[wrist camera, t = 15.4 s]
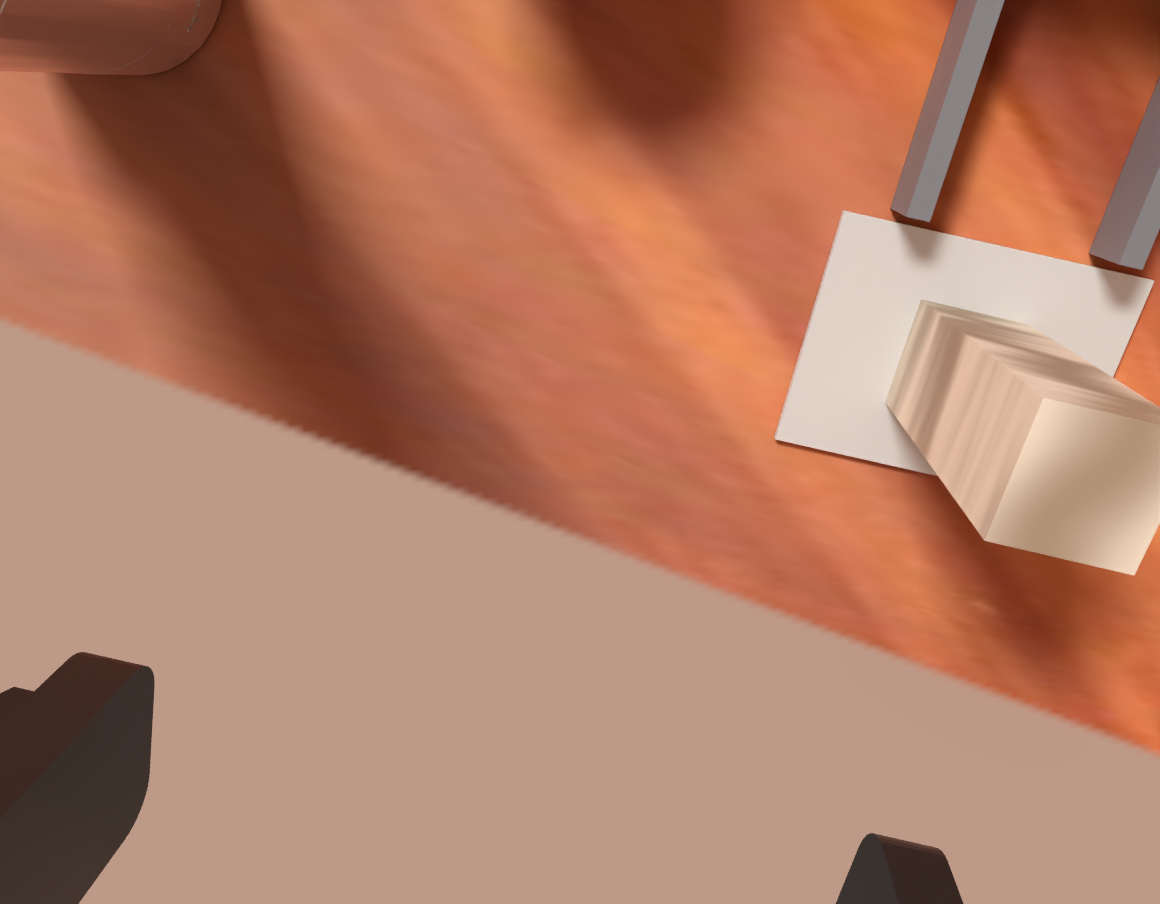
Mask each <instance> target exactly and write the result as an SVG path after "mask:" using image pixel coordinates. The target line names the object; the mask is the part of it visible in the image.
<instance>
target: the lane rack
mask: <svg viewBox="0 0 1160 904" xmlns="http://www.w3.org/2000/svg"><path fill="white" fill-rule="evenodd" d="M1003 3H1004V0H957V2H956V5H955V8H954V11H953V14H952V18H951V21H950V24H949V27H948V30H947V33H946V36H945V39H944V43H943V46H942V49H941V52H940V55H939V58H938V61H937V64H936V68H935V71H934V74H933V77H932V80H931V83H930V86H929V89H928V93H927V96H926V99H925V102H924V105H923V108H922V111H921V114H920V118H919V121H918V124H917V127H916V130H915V133H914V136H913V139H912V143H911V146H910V149H909V152H908V155H907V158H906V161H905V164H904V167H903V171H902V174H901V177H900V180H899V183H898V186H897V189H896V192H895V196H894V199H893V202H892V205H891V208H890V209H892V210H894V211H896V212H898V213H900V214H902V215H904V216H906V217H909V218H914V219H918V220H923V221H927V222H930V220H931V217H932V214H933V211H934V208H935V205H936V202H937V199H938V197H939V194H940V191H941V188H942V185H943V182H944V179H945V176H946V173H947V170H948V167H949V164H950V161H951V158H952V155H953V152H954V149H955V146H956V143H957V140H958V137H959V134H960V131H961V128H962V125H963V122H964V119H965V116H966V113H967V110H968V107H969V104H970V101H971V98H972V96H973V93H974V90H975V87H976V84H977V81H978V78H979V75H980V72H981V69H982V66H983V63H984V60H985V57H986V54H987V51H988V48H989V45H990V42H991V39H992V36H993V33H994V30H995V27H996V24H997V21H998V18H999V15H1000V12H1001V9H1002V6H1003ZM1159 230H1160V77H1159V79H1158V82H1157V84H1156V87H1155V89H1154V92H1153V94H1152V97H1151V99H1150V102H1149V104H1148V107H1147V109H1146V112H1145V114H1144V117H1143V119H1142V122H1141V124H1140V127H1139V129H1138V132H1137V134H1136V137H1135V139H1134V142H1133V144H1132V147H1131V149H1130V152H1129V154H1128V157H1127V159H1126V162H1125V164H1124V167H1123V169H1122V172H1121V174H1120V177H1119V179H1118V182H1117V184H1116V187H1115V189H1114V192H1113V194H1112V197H1111V199H1110V202H1109V204H1108V207H1107V209H1106V212H1105V214H1104V217H1103V219H1102V222H1101V224H1100V227H1099V229H1098V232H1097V234H1096V237H1095V239H1094V242H1093V244H1092V247H1091V249H1090V252H1089V254H1092V255H1095V256H1097V257H1100V258H1103V259H1105V260H1108V261H1110V262H1113V263H1116V264H1118V265H1123V266H1127V267H1131V268H1136V269H1140V270H1143V267H1144V265H1145V263H1146V260H1147V258H1148V256H1149V253H1150V251H1151V248H1152V246H1153V244H1154V241H1155V239H1156V237H1157V234H1158V232H1159Z"/></svg>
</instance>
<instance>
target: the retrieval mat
mask: <svg viewBox="0 0 1160 904" xmlns="http://www.w3.org/2000/svg"><path fill="white" fill-rule="evenodd" d="M1153 283H1154V280H1151V279H1147V278H1143V277H1138V276H1134V275H1129V274H1125V273H1120V272H1116V271H1112V270H1107V269H1103V268H1098V267H1094V266H1089V265H1085V264H1080V263H1076V262H1072V261H1067V260H1063V259H1058V258H1054V257H1049V256H1045V255H1040V254H1036V253H1032V252H1027V251H1023V250H1018V249H1014V248H1009V247H1005V246H1000V245H996V244H992V243H987V242H983V241H978V240H974V239H969V238H965V237H960V236H956V235H952V234H947V233H943V232H938V231H934V230H929V229H925V228H920V227H916V226H912V225H907V224H903V223H898V222H894V221H889V220H885V219H880V218H876V217H872V216H867V215H863V214H858V213H854V212H849V211H845V210H843V211H842V214H841V218H840V221H839V224H838V228H837V231H836V234H835V238H834V241H833V244H832V247H831V251H830V254H829V257H828V261H827V264H826V267H825V271H824V274H823V277H822V281H821V284H820V287H819V290H818V294H817V297H816V300H815V304H814V307H813V310H812V314H811V317H810V320H809V323H808V327H807V330H806V333H805V337H804V340H803V343H802V347H801V350H800V353H799V357H798V360H797V363H796V366H795V370H794V373H793V376H792V380H791V383H790V386H789V390H788V393H787V396H786V399H785V403H784V406H783V409H782V413H781V416H780V419H779V423H778V426H777V429H776V433H775V436H774V437H775V439H776V440H780V441H785V442H789V443H793V444H798V445H802V446H807V447H811V448H816V449H820V450H824V451H829V452H833V453H838V454H842V455H847V456H851V457H855V458H860V459H864V460H869V461H873V462H878V463H882V464H886V465H891V466H895V467H900V468H904V469H909V470H913V471H917V472H922V473H926V474H931V475H935V476H938V475H937V474H936V472H935V471H934V470H933V468H932V467H931V465H930V464H929V463H928V461H927V460H926V458H925V457H924V456H923V454H922V453H921V451H920V450H919V449H918V447H917V446H916V444H915V443H914V442H913V440H912V439H911V437H910V436H909V435H908V433H907V432H906V430H905V429H904V428H903V426H902V425H901V423H900V422H899V421H898V419H897V418H896V416H895V415H894V414H893V412H892V411H891V409H890V408H889V407H888V405H887V404H886V402H885V401H886V398H887V395H888V392H889V389H890V387H891V384H892V381H893V378H894V375H895V372H896V369H897V367H898V364H899V361H900V358H901V355H902V352H903V349H904V347H905V344H906V341H907V338H908V335H909V332H910V329H911V327H912V324H913V321H914V318H915V315H916V312H917V309H918V307H919V304H920V301H921V299H922V300H926V301H931V302H935V303H939V304H944V305H948V306H952V307H957V308H961V309H965V310H969V311H974V312H978V313H982V314H987V315H991V316H995V317H1000V318H1004V319H1008V320H1013V321H1017V322H1021V323H1026V324H1029V325H1031V326H1032V327H1034V328H1035V329H1037V330H1039V331H1040V332H1042V333H1043V334H1045V335H1046V336H1048V337H1050V338H1051V339H1053V340H1054V341H1056V342H1058V343H1059V344H1061V345H1062V346H1064V347H1065V348H1067V349H1069V350H1070V351H1072V352H1073V353H1075V354H1076V355H1078V356H1080V357H1081V358H1083V359H1084V360H1086V361H1087V362H1089V363H1091V364H1092V365H1094V366H1095V367H1097V368H1098V369H1100V370H1102V371H1103V372H1105V373H1106V374H1108V375H1109V376H1111V377H1113V376H1114V374H1115V372H1116V369H1117V367H1118V365H1119V362H1120V360H1121V358H1122V355H1123V353H1124V351H1125V348H1126V346H1127V344H1128V341H1129V339H1130V337H1131V335H1132V332H1133V330H1134V328H1135V325H1136V323H1137V321H1138V318H1139V316H1140V314H1141V311H1142V309H1143V307H1144V304H1145V302H1146V300H1147V297H1148V295H1149V293H1150V290H1151V288H1152V286H1153Z"/></svg>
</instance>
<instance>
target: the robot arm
mask: <svg viewBox="0 0 1160 904" xmlns="http://www.w3.org/2000/svg"><path fill="white" fill-rule="evenodd" d="M221 3H222V0H0V71H20V72H51V73H79V74H103V75H150V74H154V73H159V72H163V71H167V70H169V69H171V68H173V67H175V66H177V65H178V64H180V63H182V62H184V61H186V60H187V59H188V58H189V57H190V56H191V55H192V54H193V53H194V52H196V51H197V50H198V49H199V48H200V47H201V46H202V44H203V43H204V41H205V40H206V38H207V37H208V35H209V34H210V32H211V31H212V29H213V27H214V24H215V22H216V19H217V16H218V14H219V11H220V9H221ZM153 701H154V675H153V672H152V670H151V668H149V667H147V666H143V665H139V664H134V663H129V662H125V661H121V660H117V659H112V658H108V657H103V656H99V655H95V654H90V653H85V652H80V653H77V654H75V655H73V656H72V657H70V658H69V659H68V660H67V661H66V662H65V663H64V664H63V665H62V666H61V667H59V668H58V669H57V670H56V671H55V672H54V673H53V674H52V675H51V676H50V677H49V678H48V679H47V680H46V681H45V682H44V683H43V684H42V685H41V686H40V687H39V688H37V689H36V690H35V691H30V690H25V689H21V688H17V687H13V688H11V689H9V690H7V691H4V692H2V693H1V694H0V904H79V902H80V901H81V899H82V898H83V897H84V895H85V894H86V892H87V891H88V890H89V888H90V887H91V886H92V884H93V883H94V881H95V880H96V879H97V877H98V876H99V874H100V873H101V872H102V870H103V869H104V867H105V866H106V865H107V863H108V862H109V861H110V859H111V858H112V856H113V855H114V854H115V852H116V851H117V849H118V848H119V847H120V845H121V844H122V843H123V841H124V840H125V838H126V837H127V835H128V834H129V832H130V830H131V829H132V827H133V825H134V823H135V821H136V819H137V817H138V814H139V812H140V810H141V807H142V804H143V801H144V798H145V795H146V791H147V787H148V782H149V774H150V755H151V737H152V718H153ZM836 904H963V902H962V899H961V896H960V894H959V891H958V888H957V885H956V883H955V880H954V877H953V875H952V872H951V869H950V866H949V864H948V861H947V859H946V857H945V855H944V854H943V852H942V851H941V850H940V849H938V848H935V847H931V846H926V845H922V844H917V843H913V842H909V841H904V840H900V839H895V838H891V837H886V836H882V835H878V834H873V833H871V834H868V835H866V837H865V838H864V839H863V840H862V842H861V844H860V846H859V848H858V850H857V853H856V855H855V858H854V860H853V863H852V865H851V868H850V870H849V872H848V875H847V877H846V880H845V882H844V885H843V887H842V890H841V892H840V895H839V897H838V900H837V902H836Z"/></svg>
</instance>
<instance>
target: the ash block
mask: <svg viewBox="0 0 1160 904" xmlns="http://www.w3.org/2000/svg"><path fill="white" fill-rule="evenodd" d="M885 402H886V404H887V405H888V407H889V408H890V409H891V411H892V412H893V414H894V415H895V416H896V418H897V419H898V421H899V422H900V423H901V425H902V426H903V428H904V429H905V430H906V432H907V433H908V435H909V436H910V437H911V439H912V440H913V442H914V443H915V444H916V446H917V447H918V449H919V450H920V451H921V453H922V454H923V456H924V457H925V458H926V460H927V461H928V463H929V464H930V465H931V467H932V468H933V470H934V471H935V472H936V474H937V475H938V477H939V478H940V479H941V481H942V482H943V484H944V485H945V486H946V488H947V489H948V491H949V492H950V493H951V495H952V496H953V498H954V499H955V500H956V502H957V503H958V505H959V506H960V507H961V509H962V510H963V512H964V513H965V514H966V516H967V517H968V519H969V520H970V521H971V523H972V524H973V526H974V527H975V528H976V530H977V531H978V533H979V534H980V535H981V537H982V538H983V540H984V541H988V542H992V543H996V544H1001V545H1005V546H1009V547H1013V548H1018V549H1022V550H1026V551H1031V552H1035V553H1039V554H1044V555H1048V556H1052V557H1057V558H1061V559H1065V560H1069V561H1074V562H1078V563H1082V564H1087V565H1091V566H1095V567H1100V568H1104V569H1108V570H1113V571H1117V572H1121V573H1125V574H1130V575H1135V573H1136V571H1137V569H1138V567H1139V565H1140V563H1141V561H1142V559H1143V557H1144V555H1145V552H1146V550H1147V548H1148V546H1149V544H1150V542H1151V540H1152V538H1153V536H1154V534H1155V532H1156V530H1157V528H1158V526H1159V524H1160V407H1158V406H1157V405H1155V404H1154V403H1152V402H1150V401H1149V400H1147V399H1146V398H1144V397H1143V396H1141V395H1139V394H1138V393H1136V392H1135V391H1133V390H1132V389H1130V388H1128V387H1127V386H1125V385H1124V384H1122V383H1121V382H1119V381H1117V380H1116V379H1114V378H1113V377H1111V376H1109V375H1108V374H1106V373H1105V372H1103V371H1102V370H1100V369H1098V368H1097V367H1095V366H1094V365H1092V364H1091V363H1089V362H1087V361H1086V360H1084V359H1083V358H1081V357H1080V356H1078V355H1076V354H1075V353H1073V352H1072V351H1070V350H1069V349H1067V348H1065V347H1064V346H1062V345H1061V344H1059V343H1058V342H1056V341H1054V340H1053V339H1051V338H1050V337H1048V336H1046V335H1045V334H1043V333H1042V332H1040V331H1039V330H1037V329H1035V328H1034V327H1032V326H1031V325H1029V324H1026V323H1021V322H1017V321H1013V320H1008V319H1004V318H1000V317H995V316H991V315H987V314H982V313H978V312H974V311H969V310H965V309H961V308H957V307H952V306H948V305H944V304H939V303H935V302H931V301H926V300H922V299H921V301H920V304H919V307H918V309H917V312H916V315H915V318H914V321H913V324H912V327H911V329H910V332H909V335H908V338H907V341H906V344H905V347H904V349H903V352H902V355H901V358H900V361H899V364H898V367H897V369H896V372H895V375H894V378H893V381H892V384H891V387H890V389H889V392H888V395H887V398H886V401H885Z"/></svg>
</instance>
